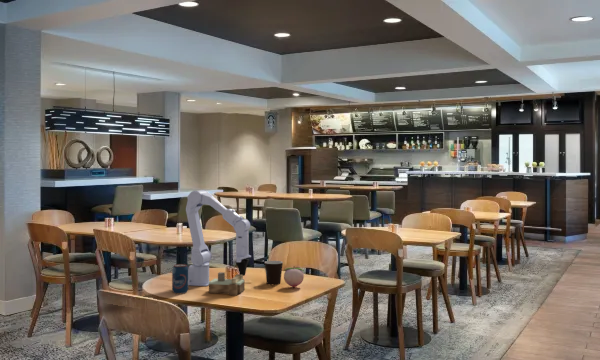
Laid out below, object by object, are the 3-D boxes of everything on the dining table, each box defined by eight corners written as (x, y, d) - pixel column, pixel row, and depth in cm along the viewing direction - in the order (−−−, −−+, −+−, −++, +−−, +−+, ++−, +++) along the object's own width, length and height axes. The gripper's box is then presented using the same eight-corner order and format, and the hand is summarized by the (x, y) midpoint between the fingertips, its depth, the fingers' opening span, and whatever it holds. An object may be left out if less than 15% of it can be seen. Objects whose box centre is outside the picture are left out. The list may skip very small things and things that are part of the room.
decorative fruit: (285, 289, 258) (285, 267, 258) (282, 286, 266) (282, 264, 266) (305, 289, 260) (305, 267, 259) (302, 285, 268) (302, 263, 267)
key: (230, 283, 249) (230, 278, 249) (236, 278, 259) (236, 274, 259) (236, 283, 248) (236, 279, 248) (242, 278, 259) (242, 274, 258)
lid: (208, 285, 251) (208, 274, 251) (214, 281, 259) (214, 270, 259) (239, 286, 249) (239, 275, 249) (244, 282, 257) (244, 271, 257)
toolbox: (207, 294, 249) (207, 283, 249) (215, 288, 262) (215, 277, 262) (238, 295, 247) (238, 285, 247) (245, 289, 260) (245, 278, 260)
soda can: (172, 294, 249) (171, 266, 249) (172, 290, 256) (172, 263, 256) (188, 293, 251) (188, 266, 250) (188, 290, 258) (188, 263, 257)
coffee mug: (280, 285, 267) (280, 264, 267) (262, 284, 269) (262, 263, 268) (286, 280, 278) (286, 260, 278) (268, 279, 280) (268, 259, 280)
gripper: (247, 248, 255) (247, 278, 256) (254, 243, 270) (254, 272, 270) (231, 248, 256) (231, 278, 257) (239, 243, 271) (240, 272, 271)
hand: (242, 275), depth 263 cm, fingers closed
